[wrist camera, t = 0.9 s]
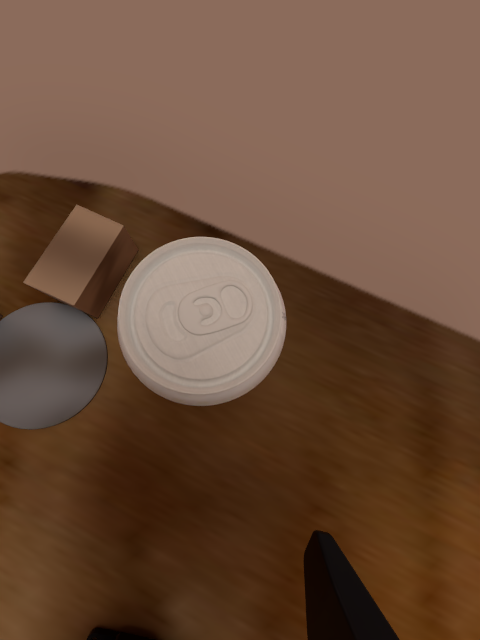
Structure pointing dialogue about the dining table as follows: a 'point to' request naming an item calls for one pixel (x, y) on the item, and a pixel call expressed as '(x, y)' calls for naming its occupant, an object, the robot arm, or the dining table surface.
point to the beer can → (201, 321)
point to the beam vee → (62, 324)
